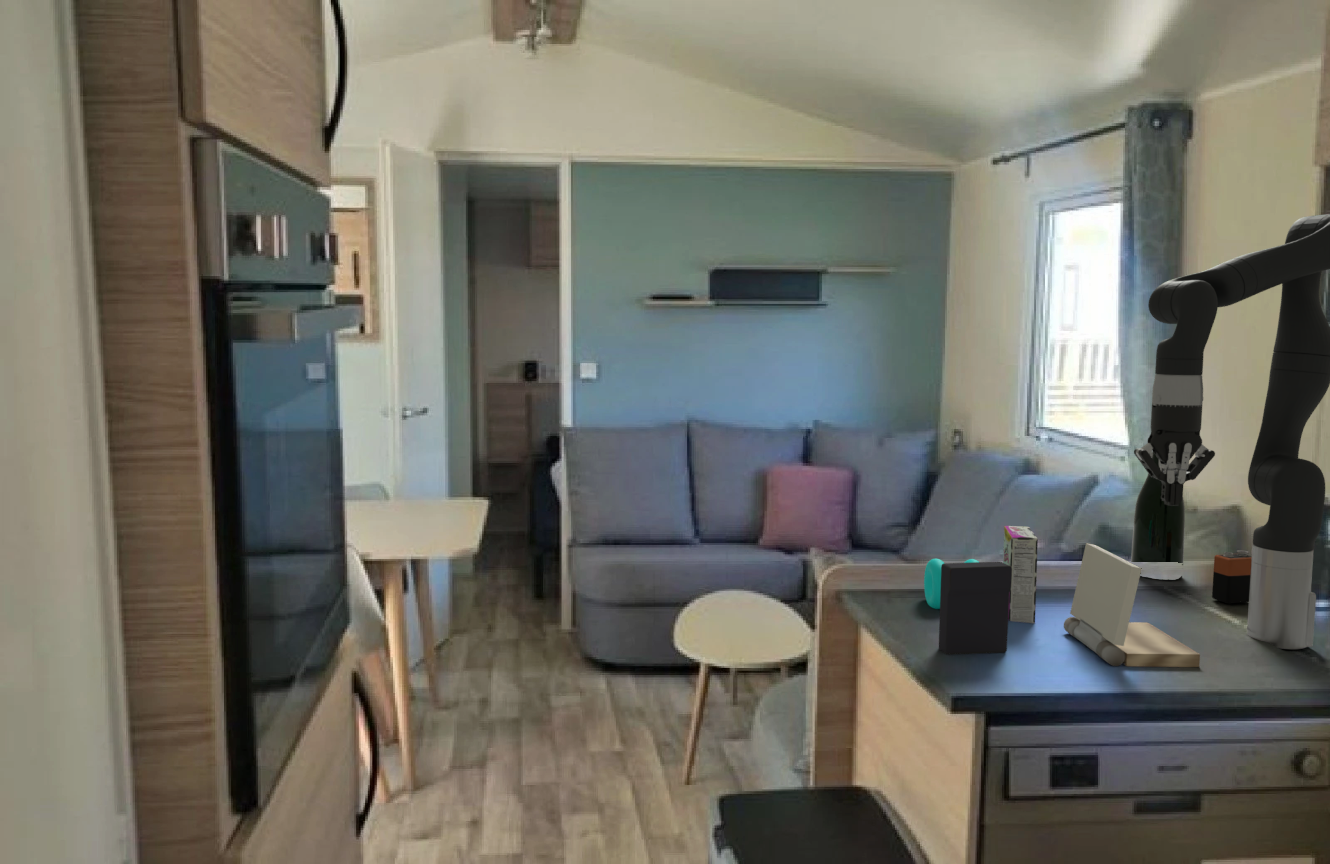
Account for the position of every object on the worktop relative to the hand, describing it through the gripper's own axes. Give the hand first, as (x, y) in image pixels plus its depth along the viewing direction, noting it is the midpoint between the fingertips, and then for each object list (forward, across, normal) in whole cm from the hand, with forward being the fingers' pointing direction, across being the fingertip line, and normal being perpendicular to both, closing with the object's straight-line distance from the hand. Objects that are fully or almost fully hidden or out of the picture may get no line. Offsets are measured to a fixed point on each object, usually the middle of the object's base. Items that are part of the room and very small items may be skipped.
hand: (1171, 504), depth 169 cm
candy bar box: (+25, +18, -20) cm, 37 cm away
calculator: (+25, +33, +2) cm, 42 cm away
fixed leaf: (+25, +5, 0) cm, 25 cm away
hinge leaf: (+24, +12, 0) cm, 26 cm away
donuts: (+25, +29, -24) cm, 45 cm away
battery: (+25, -30, -33) cm, 51 cm away
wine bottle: (+25, -24, -53) cm, 63 cm away
